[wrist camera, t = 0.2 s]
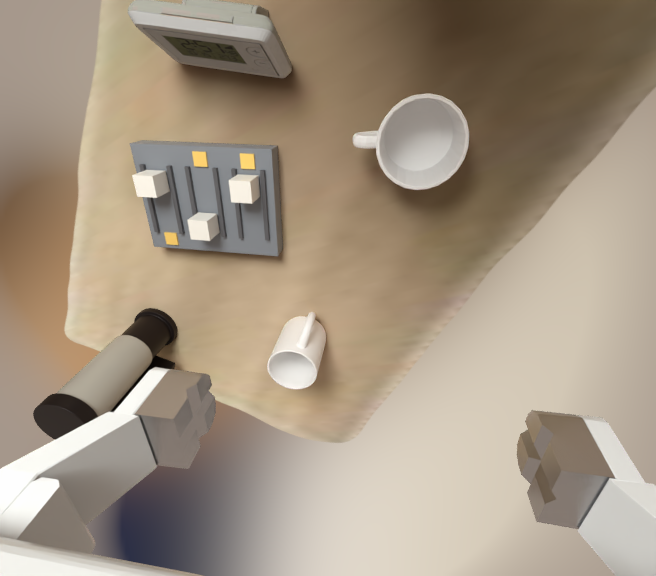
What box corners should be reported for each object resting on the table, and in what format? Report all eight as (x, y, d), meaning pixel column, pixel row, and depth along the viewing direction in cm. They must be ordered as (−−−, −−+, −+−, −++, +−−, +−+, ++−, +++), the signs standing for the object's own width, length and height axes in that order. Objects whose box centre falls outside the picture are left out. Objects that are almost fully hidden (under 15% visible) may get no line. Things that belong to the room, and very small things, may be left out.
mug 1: (295, 291, 65) (280, 325, 56) (340, 308, 65) (331, 344, 56) (278, 341, 71) (262, 379, 62) (319, 356, 71) (308, 396, 62)
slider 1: (146, 169, 54) (132, 175, 51) (165, 170, 54) (152, 176, 51) (151, 190, 56) (137, 196, 53) (169, 191, 56) (157, 197, 52)
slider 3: (238, 174, 53) (228, 180, 50) (258, 175, 52) (250, 181, 49) (240, 195, 54) (231, 202, 51) (260, 196, 54) (252, 203, 51)
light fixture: (189, 321, 72) (103, 423, 51) (181, 360, 78) (100, 467, 56) (130, 298, 71) (18, 391, 50) (126, 338, 77) (24, 438, 56)
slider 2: (198, 212, 56) (187, 219, 53) (217, 213, 56) (207, 221, 53) (201, 231, 58) (190, 239, 55) (219, 232, 58) (210, 240, 55)
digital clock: (172, 58, 50) (122, 54, 41) (179, -25, 45) (125, -50, 36) (286, 102, 50) (261, 108, 41) (304, 24, 46) (282, 11, 37)
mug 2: (466, 91, 46) (479, 94, 39) (451, 177, 52) (459, 193, 45) (359, 89, 48) (353, 91, 41) (354, 172, 53) (348, 186, 46)
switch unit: (142, 140, 56) (127, 144, 53) (277, 145, 53) (270, 150, 50) (164, 239, 64) (152, 247, 61) (282, 248, 61) (276, 257, 58)
